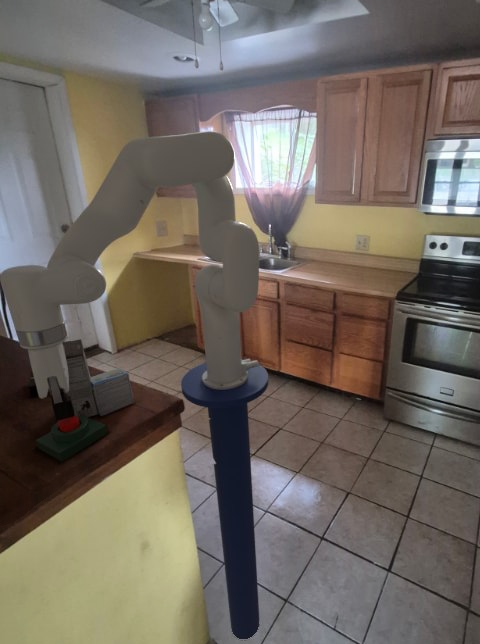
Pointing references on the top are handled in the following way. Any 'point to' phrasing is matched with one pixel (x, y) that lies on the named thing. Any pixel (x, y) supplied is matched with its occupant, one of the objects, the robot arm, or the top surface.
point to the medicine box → (112, 390)
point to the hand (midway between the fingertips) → (65, 416)
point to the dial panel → (33, 386)
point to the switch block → (71, 438)
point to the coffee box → (79, 379)
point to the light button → (69, 424)
